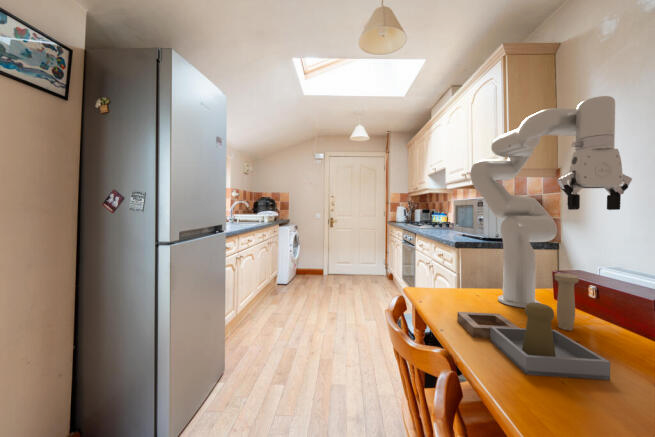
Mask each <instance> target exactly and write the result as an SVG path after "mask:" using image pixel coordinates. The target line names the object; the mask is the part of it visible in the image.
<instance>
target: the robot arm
mask: <svg viewBox="0 0 655 437" xmlns="http://www.w3.org/2000/svg"><path fill="white" fill-rule="evenodd" d="M615 129H616V100H615V98H614V97H612V96H610V95H600V96H599V95H598V96H595V97H590V98H588V99H585V100H583V101H581V102H580V103H579V104H577V107H576V108H564V107H553V108H547V109H542V110H540V111H538V112H536V113H534V114H531V115H529V116H528V117H526V118H525V119H524V120H522V122H521V124H520V125H519V127H518V128H516V129H513V130H511V131H509V132H506V133H504V134H501V135H499V136H498V137H496V138H495V139H494V140H493V142H492V143H491V151H492V153H493V154H495V155H496V156H498V157H503V158H507V159H493V158H490V159H482V160H478V161H476V162H475V163H473V165H472V166H471V169H470V179H471V184H472V185H473V188H475V190H476V191H477V193H479V195H480V196H481V197H482V198H483V199H484V202H485V203H486V205H487V206H488V207H489V209H490V211H491V212H492V214H493V215H494V216H495V217H496V218H497V219H499V220H501V221H502V222H501V224H500V235H501V238H502V245H503V256H502V257H503V262H502V263H503V270H502V272H503V273H502V274H503V276H502V279H503V280H502V288H501V291H502V294H501V295H498V296H497V300H498V301H499V302H500V303H502V304H504V305H506V306H511V307H515V308H522V309H523V308H524V309H525V307H526V305H527V304H529V303H541V302H540V301H538V300H537V299H536V263H537V262H536V253H535V250H534V248H533V246H532V244H531V243H546V242H550V241H552V240H553V239H555V238H556V237H557V235H558V226H557V223H556V221H555V220H554V219H553V217H552V216H551V215H550V214H549V213H548V212H547V210H546V209H545V208H544V207H543V205H541V203H540V202H539V201H538V200H537V199H535V198H534V197H531V196H528V195H527V196H526V195H513V194H511V193H509V191H508V190H507V189H506V187H505V186H504V185H503V184H502V183H500V182H499V181H511V180H513V179H515V178H516V177H517V176H518V174H519V173H520V172H521V170H522V169H524V168H523V167H524V166H525V165H526V163H527V162H528V160H529V159H530V158H531V156H532V155H533V153H534V150H535V148H536V147H537V146H538V145H539V144H540V141H541V139H542V136H543V137H544V136H561V137H562V136H564V137H575V141H573V142H572V143H571V147H572V148H575V151H574V152H573V153H572V156H571V160H570V167H569V173H567V174H565V175H563V176H561V177H559V178H558V179H557V183H558V185H559V186H560V189H561V190H562V191H563V192H564V194H565V196H567V202H566V204H567V209H568V211H570V210H571V211H573V210H574V211H575V210H580V205H581V204H580V201H581V195H580V194H578V193H579V192H580V191H581V190H582V189H604V190H606V192H607V193H608V195H607V196H606V210H608V211H614V210H615V211H617V210H620V209H621V197H622V196H621V195H623V194H624V193H625V191H626V190H627V189H628V188H629V186H630V184H631V183H632V181H633V178H632V177H630V176H628V175H626V174H624V173H623V164H622V157H621V155H620V151H619V149H618V148H615V143H616V142H615V135H616V130H615ZM568 181H569V182H568ZM568 183H569V184H568Z"/></svg>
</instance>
